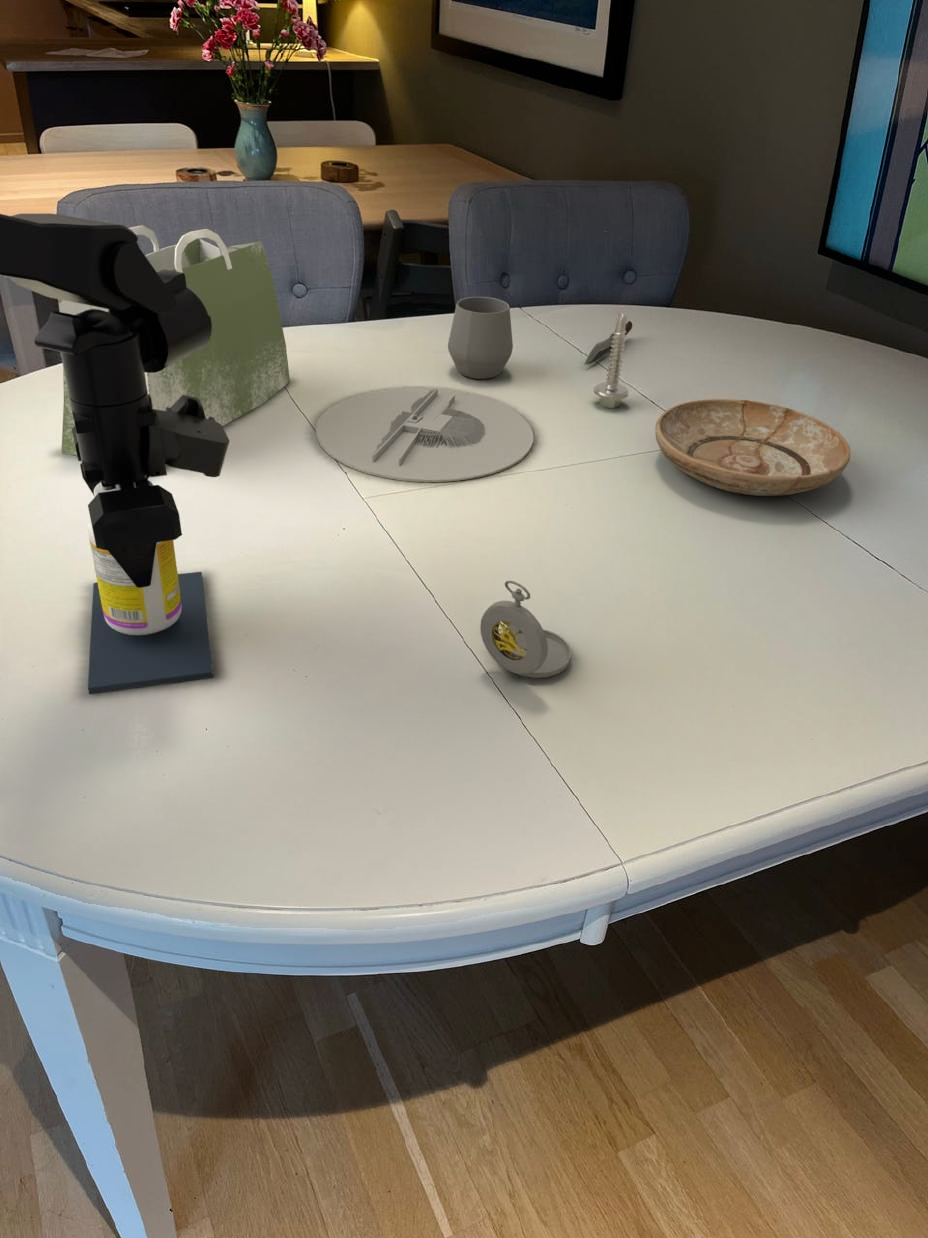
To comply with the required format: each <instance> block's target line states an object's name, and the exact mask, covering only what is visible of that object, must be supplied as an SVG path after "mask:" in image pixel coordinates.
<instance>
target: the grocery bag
mask: <svg viewBox="0 0 928 1238" xmlns="http://www.w3.org/2000/svg"><path fill="white" fill-rule="evenodd" d="M128 228H129V229H131V230H132V231H133V232H134V233H135V234H136V236H139V235H141V236H144V237H146V238H149V240H150V241H151V244H152V246H153V252H150V253H148V254H144V255H145V256H146V258H147V259H148V261H149V262H150V263H151V265H152V266H153V268H154V269H155V271H156V272H159V271H161V270H170V271H176V272H181V273H184V274H185V278H186V286H187V288H189V289H190V290H191V291H192V292H194V293H195V294H196V295H197V296H198V297H199V299H200V300H201V301H202V303H203V304H204V306H205V308H206V310H207V313H208V315H209V316H210V317H211V322H212V333H211V337H210V340H209V342H208V343H207V345H206V346H205V347H204V348H202V349H201V350H199V351H197V352H195V353H194V354H192V355H190V356H188V357H186V358H184V359H182V360H180V361H178V362H177V363H175V364H173V365H171V366H169V367H167V368H165V369H163V370H161V371H159V372H156V373H147V372H145V378H146V385H147V391H148V394H149V395H150V397H151V400H152V407H153V409H156V410H162V411H165V410H166V407H168V408H171V407H172V406H173V405H174V404H175V402H176V401H177V400H178V399H179V398H180V397H181V396H182V395H187V396H191V397H195V398H198V399H199V400H200V402H201V404H202V406H203V409H204V413H205V417H206V419H209V417H214V419H215V421H216V422H218V423H219V424H221V425H222V427H224V426H226V425H227V424H229V423H231V422H232V421H235V420H236V419H238V418H240V417H242V416H244V415H246V414H247V413H249V412H250V411H252V410H254V409H257V408H258V407H260V406H261V405H263V404H265V403H266V402H267V401H268V400H270V399H271V398H272V397H273V396H274V395H276V394H277V393H278V392H279V391H281V390H282V389H283V388H285V386H287V385H288V384H289V383H290V382H291V378H290V369H289V359H288V352H287V343H286V338H285V333H284V329H283V324H282V317H281V314H280V307H279V304H278V297H277V293H276V287H275V283H274V280H273V277H272V273H271V269H270V266H269V262H268V259H267V255H266V253H265V249H264V245H263V242H262V240H261V241H256V242H249V243H244V244H237V245H232V246H226V244H225V242H224V241H223V240H222V239H221V237H220V235H219V234H218V233H216V232H214V231H213V230H210V229H209V228H203V229H197V230H192V231H189V232H187V233H185V234H183V235H181V237H180V238H179V240H178V243H177V244H173V245H170V246H166V247H163V248H160V246H159V245H160V244H159V242H158V239H157V236H156V233H155V231H154V230H152V229H150V228H148V227H147V226H145V225H137V226H132V227H128ZM203 239H209V240H210V241H213V242H214V243H215V244H216V245H213V244H211V243H209V242H207V241H206V240H203ZM217 246H218V247H217ZM57 301H58V311H59V312H62V313H67V314H72V315H75V314H78V313H80V312H83V311H85V310H89V309H98V310H102V311H106V312H108V311H109V309H106V308H101V307H96V306H91V305H85V304H80V303H75V302H70V301H65V300H60V299H57ZM62 372H63V375H62V377H63V379H62V380H63V381H62V382H63V409H62V432H61V454H64V455H65V454H66V455H71V456H76V457H77V453H76V448H75V443H74V438H73V433H72V428H73V427H74V426H75V424H74V419H73V415H72V410H71V405H70V400H69V394H68V389H67V383H66V378H65V373H64V368H63V367H62Z"/></svg>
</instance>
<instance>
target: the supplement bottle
mask: <svg viewBox="0 0 928 1238" xmlns="http://www.w3.org/2000/svg"><path fill="white" fill-rule="evenodd" d="M148 481H149V484H150V486H153V485H154V484H153V482H152V481H151V480H150V479H148ZM133 484H134V488H136V484H135V482H134V483H133ZM115 490H120V489H119V485H116V489H113V490H103V489H102V485H101V482H100V483H99V484H97V485H96V487H95V488H94V495H93V496H94V497H95V496H96V495H97V494H98V493H100V492H108V491H115ZM94 497H93V498H94ZM87 533H88V540H89V544H90V549H91V554H92V555H91V556H92V561H93V565H94V572H95V576H96V577H95V578H96V583H98V588H99V593H100V598H101V604H102V609H103V613H104V618H105V620H106V622H107V624H108V625H109V626H110V627H111V628H113V629H114V630H116V631H118V632H120V633H123V634H128V635H147V634H152V633H156V632H159V631H162V630H164V629H166V628H168V627H170V626H171V625H172V624H174V623H175V622H176V621H177V619H178V618H179V616H180V614H181V610H182V604H181V596H180V588H179V581H178V574H179V572H178V566H177V559H176V551H175V544H174V540H169V541H163V542H157V544H156V550H155V557H154V564H153V571H152V579H151V585H150V586H148V587H142V588H138V587H136V585H135V584H134V583H133V582H132V580H131V579H130V578H129V577H128V575H127V574H126V573H125V571H124V570H123V569H122V568H121V566H120V565H119V564H118V563H117V561H116V560H115V559H114V558H113V556H112V555H111V554H110V553H109V552H108V551H107V550H102V549H99V548H96V543H95V538H94V534H93V529H92V524H91V519H90V520H89V522H88V526H87Z"/></svg>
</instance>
